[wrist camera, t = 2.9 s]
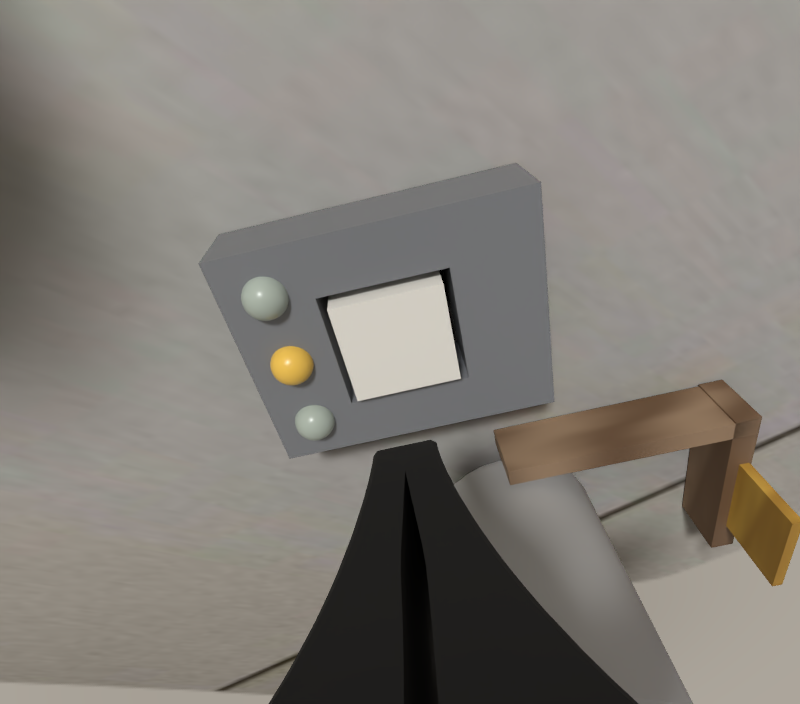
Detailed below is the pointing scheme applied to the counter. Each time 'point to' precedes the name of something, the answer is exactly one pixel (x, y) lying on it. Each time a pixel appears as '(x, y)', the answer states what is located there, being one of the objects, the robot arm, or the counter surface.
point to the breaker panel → (383, 262)
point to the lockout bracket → (666, 432)
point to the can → (574, 575)
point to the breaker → (395, 335)
